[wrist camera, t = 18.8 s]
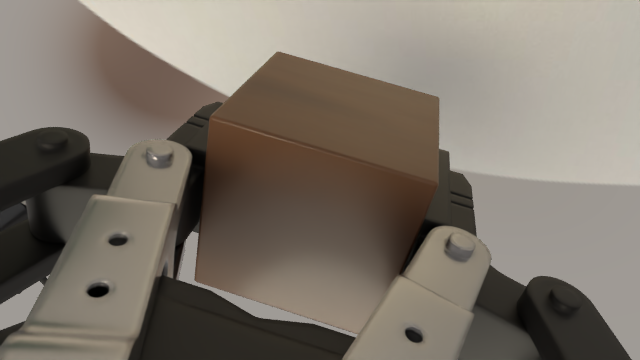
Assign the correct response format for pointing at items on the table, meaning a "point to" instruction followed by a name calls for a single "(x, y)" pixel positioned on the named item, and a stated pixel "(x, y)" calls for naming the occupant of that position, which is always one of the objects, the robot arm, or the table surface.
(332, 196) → the block
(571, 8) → the table surface
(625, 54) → the table surface
